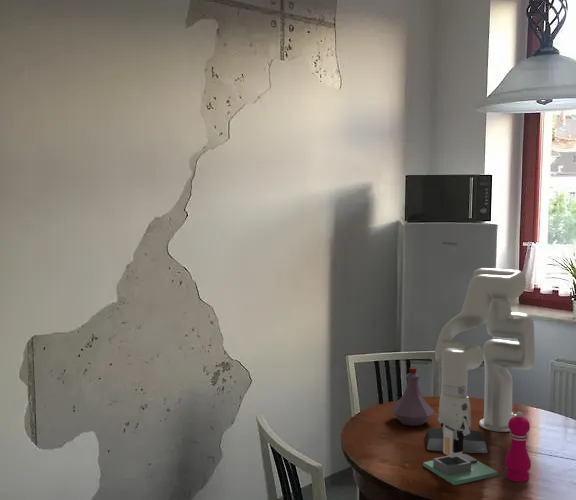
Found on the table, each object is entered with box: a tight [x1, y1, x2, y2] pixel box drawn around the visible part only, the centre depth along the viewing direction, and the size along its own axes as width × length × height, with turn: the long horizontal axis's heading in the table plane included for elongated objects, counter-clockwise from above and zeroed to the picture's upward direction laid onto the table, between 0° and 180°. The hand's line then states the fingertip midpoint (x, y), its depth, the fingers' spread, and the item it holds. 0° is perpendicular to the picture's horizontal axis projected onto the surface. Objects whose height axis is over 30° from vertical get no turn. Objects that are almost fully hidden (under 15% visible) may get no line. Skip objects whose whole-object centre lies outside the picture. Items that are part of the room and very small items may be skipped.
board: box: [422, 453, 499, 486], centre depth 204 cm, size 16×15×4 cm
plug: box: [442, 427, 463, 458], centre depth 202 cm, size 4×4×8 cm
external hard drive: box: [425, 427, 488, 454], centre depth 225 cm, size 13×19×4 cm
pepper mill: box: [504, 411, 532, 483], centre depth 198 cm, size 7×7×20 cm
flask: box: [389, 366, 436, 427], centre depth 247 cm, size 16×16×20 cm
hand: (453, 448), depth 203 cm, fingers closed on plug, 4 cm apart
